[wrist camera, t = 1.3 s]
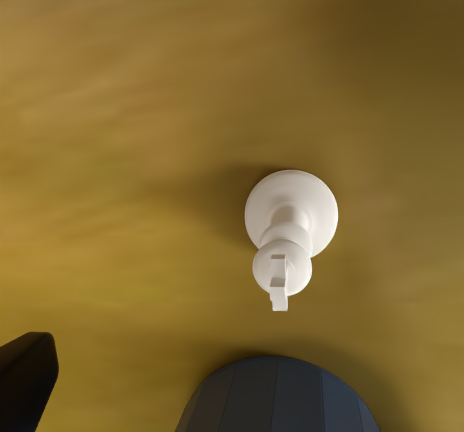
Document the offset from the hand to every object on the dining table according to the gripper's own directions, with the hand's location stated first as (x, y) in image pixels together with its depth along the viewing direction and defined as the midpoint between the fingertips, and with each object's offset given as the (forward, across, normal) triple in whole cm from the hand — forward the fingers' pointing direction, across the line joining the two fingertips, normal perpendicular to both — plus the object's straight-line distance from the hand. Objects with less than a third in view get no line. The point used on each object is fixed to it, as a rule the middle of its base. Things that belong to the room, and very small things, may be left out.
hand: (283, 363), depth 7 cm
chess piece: (+14, -1, +2) cm, 14 cm away
